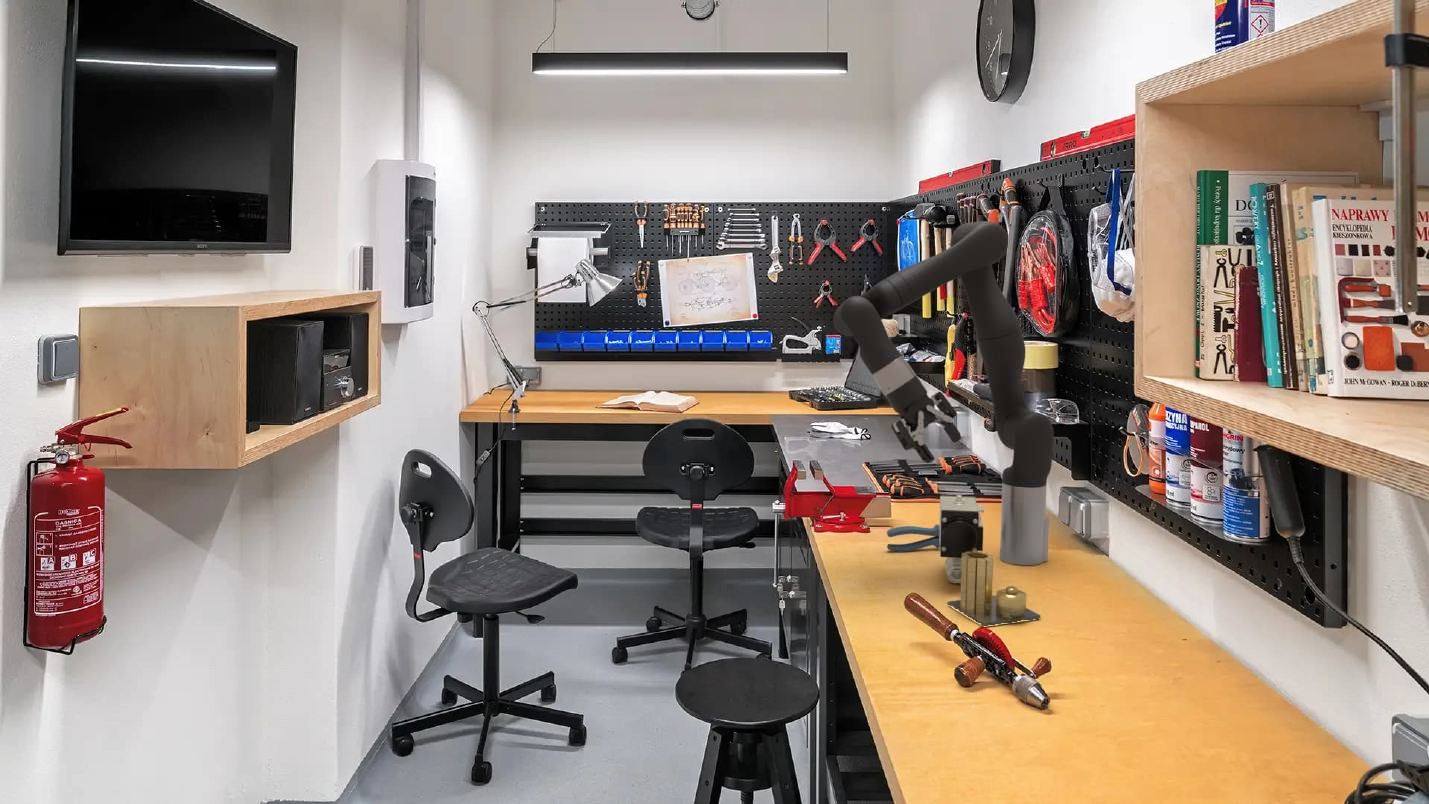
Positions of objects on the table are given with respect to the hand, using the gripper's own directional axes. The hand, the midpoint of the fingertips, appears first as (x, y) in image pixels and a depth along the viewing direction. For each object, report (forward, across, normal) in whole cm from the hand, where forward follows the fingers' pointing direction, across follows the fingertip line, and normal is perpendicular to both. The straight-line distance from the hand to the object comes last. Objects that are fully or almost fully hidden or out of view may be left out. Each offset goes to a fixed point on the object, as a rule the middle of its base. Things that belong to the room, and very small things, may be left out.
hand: (944, 451), depth 189 cm
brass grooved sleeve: (+26, -17, -3) cm, 31 cm away
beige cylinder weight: (+30, -16, -8) cm, 35 cm away
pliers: (+20, +4, +30) cm, 37 cm away
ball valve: (+25, -6, +12) cm, 28 cm away
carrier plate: (+28, -16, -5) cm, 33 cm away
